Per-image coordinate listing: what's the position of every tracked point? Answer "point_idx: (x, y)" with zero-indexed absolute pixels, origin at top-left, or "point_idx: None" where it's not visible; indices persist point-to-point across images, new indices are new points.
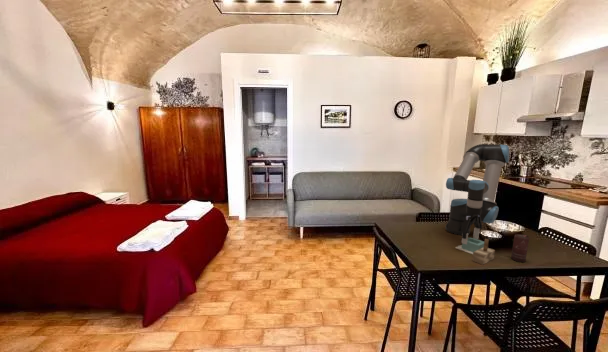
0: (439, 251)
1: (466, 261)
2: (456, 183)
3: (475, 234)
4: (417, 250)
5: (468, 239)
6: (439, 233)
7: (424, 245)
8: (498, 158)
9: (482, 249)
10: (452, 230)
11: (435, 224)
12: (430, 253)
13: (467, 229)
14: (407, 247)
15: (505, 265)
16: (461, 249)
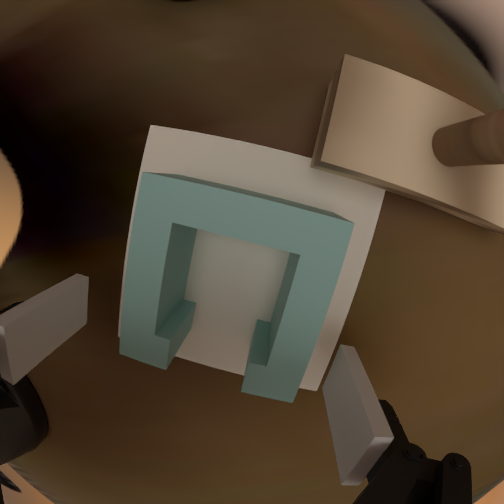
0: (444, 423)
1: None
2: None
3: (61, 323)
4: (473, 471)
5: (171, 356)
6: (112, 472)
7: None
8: None
9: (435, 175)
10: (35, 428)
11: (24, 466)
12: (488, 431)
13: (403, 500)
14: None
15: (394, 19)
16: (325, 347)
